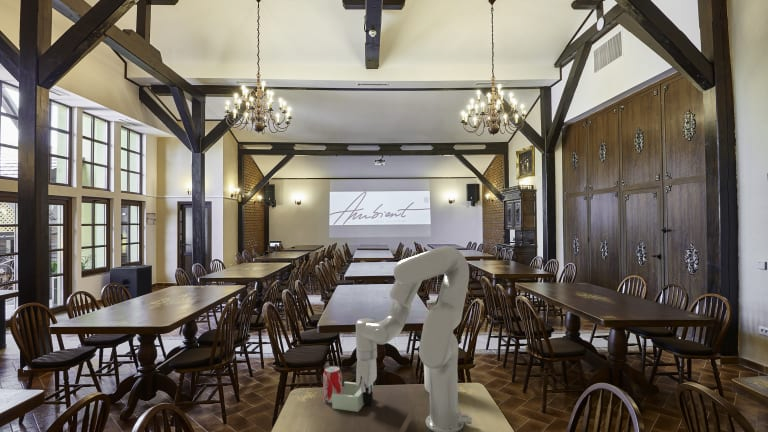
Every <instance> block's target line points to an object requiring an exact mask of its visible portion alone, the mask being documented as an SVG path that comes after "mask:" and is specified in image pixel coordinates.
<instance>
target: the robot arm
mask: <svg viewBox="0 0 768 432" xmlns="http://www.w3.org/2000/svg"><path fill="white" fill-rule="evenodd" d="M441 275H443V279H442V282H441V284H440V285H441V286H440V289H439V290H440V291H439V295H438V300H437V302H436V303H435V305H433V306H432V307H431V308H430V309H429V310H428V311H427V314H425V315H426V316H425V318H424V322H423V326H422V330H421V331H422V332H421V337H420V342H419V347H418V355H419V359H420V361H421V363H422V364H423V366H424V365H425V366H427V367H428V368H429V392H428V394H429V415H428V416H427V417H426V418H425V425H426V427H427V429H429V430H430V431H432V432H459V431H461V430H462V429H463V428H464V424H467V425H473V419H472V417H470V414H464V413H462V412H461V408H459V393H458V392H459V391H458V389H459V388H458V386H459V385H458V378H459V377H458V360H459V342H458V338H457V336H456V335H455V334H454V330H455V329H456V328H457V327H458V326H459V325H460V323H461V322H462V318H463V312H464V308H465V307H464V306H465V301H466V296H467V291H468V286H469V281H470V280H469V279H470V267H469V264H468V261H467V259H466V257H465V256H464V254H463V253H462V252H461V251H460V250H458V249H457V248H455V247H453V246H450V245H442V246H439V247H435V248H433V249H432V248H431V249H428V250H426V251H425V252H421V253H418V254H416V255H413V256H410V257H407V258H402V259H401V260H399V261H397V263H396V264H395V266H394V268H393V276H394V279H395V281H394V282H393V285H392V286H391V290H389V291H390V292H389V296H390V298H391V300H392V305H391V308H390V310H389V311H388V314H387V316H386V317H385V318H384V319H383V320H380V321H378V322H376V320H375V319H373V318H369V317H366V318H365V317H364V318H359V319H358V320H356V322H355V340H356V341H355V342H356V343H355V345H356V359H357V362H356V369H355V371H356V372H355V374H356V375H355V377H356V378H355V383H356V386H357V387H359V386H360V385H361V392H363V403H365V404H367V405H371V404H372V403H374V402H373V401H374V399H373V398H374V393H373V391H374V382H375V381H376V380H377V377H378V375H377V374H378V373H377V372H378V370H377V368H378V367H377V358H378V347H377V345H385V344H387V343H390V342H391V340H393V339H395V338H396V337H398V336H399V335H400V333H401V332H402V330H403V328H404V326H405V325H406V323H407V321H408V319H409V316H410V313H411V309H412V303H413V301H414V299H415V297H416V295H417V293H418V291H419V289H420V287H421V284H422V282H423V281H426V280H429V279H431V278H432V279H433V278H435V277H438V276H441Z"/></svg>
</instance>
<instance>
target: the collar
mask: <svg viewBox="0 0 768 432" xmlns="http://www.w3.org/2000/svg"><path fill="white" fill-rule="evenodd" d="M343 390H344V391H343V393H342V394H336V393H333V394H332V405H331V408H332V409H334V410H343V411H350V412H357V413H358V412H359V411H360V410H361V409H362V408H363V406H364V405H365V404H366V403H363V392H361V385H360V386H359V387H357V386H356V382H354V381H353V382H352V381H351V382H350V381H344V382H343Z"/></svg>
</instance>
